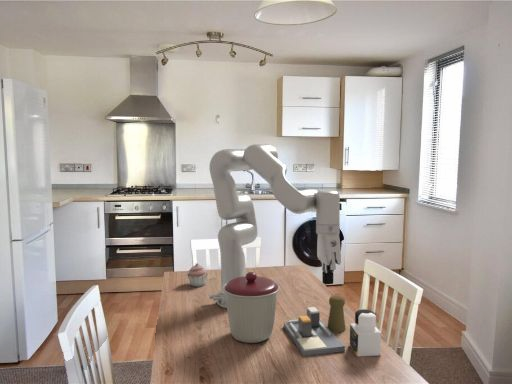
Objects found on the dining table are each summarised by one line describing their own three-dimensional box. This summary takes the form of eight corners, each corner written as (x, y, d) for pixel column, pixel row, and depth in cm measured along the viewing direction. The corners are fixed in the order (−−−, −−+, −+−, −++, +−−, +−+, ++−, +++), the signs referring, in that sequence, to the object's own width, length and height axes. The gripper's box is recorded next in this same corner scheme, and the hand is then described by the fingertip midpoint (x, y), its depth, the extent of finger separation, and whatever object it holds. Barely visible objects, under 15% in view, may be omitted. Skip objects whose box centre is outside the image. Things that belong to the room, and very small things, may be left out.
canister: (216, 329, 135) (215, 267, 133) (266, 320, 142) (266, 262, 140) (234, 354, 119) (233, 284, 117) (289, 343, 125) (289, 277, 123)
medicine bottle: (349, 345, 124) (350, 307, 123) (371, 344, 125) (373, 306, 123) (357, 357, 117) (358, 317, 116) (380, 355, 117) (382, 316, 116)
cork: (345, 332, 132) (346, 300, 131) (327, 331, 133) (327, 299, 132) (345, 325, 138) (346, 294, 137) (327, 323, 139) (328, 292, 138)
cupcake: (184, 283, 182) (184, 261, 181) (204, 280, 186) (204, 259, 185) (190, 289, 174) (189, 267, 173) (210, 286, 178) (210, 264, 177)
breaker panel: (303, 356, 118) (303, 348, 117) (283, 326, 137) (283, 320, 137) (344, 351, 120) (344, 343, 120) (319, 323, 140) (319, 316, 140)
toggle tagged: (302, 336, 126) (302, 321, 125) (298, 331, 129) (298, 316, 129) (311, 335, 126) (311, 320, 126) (307, 330, 130) (307, 315, 130)
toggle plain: (310, 327, 133) (310, 312, 132) (306, 322, 136) (306, 307, 136) (319, 326, 133) (319, 311, 133) (315, 321, 137) (315, 306, 137)
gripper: (348, 232, 125) (347, 290, 127) (330, 224, 140) (330, 276, 141) (325, 233, 124) (325, 292, 125) (309, 225, 138) (309, 277, 140)
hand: (327, 283), depth 133 cm, fingers closed
